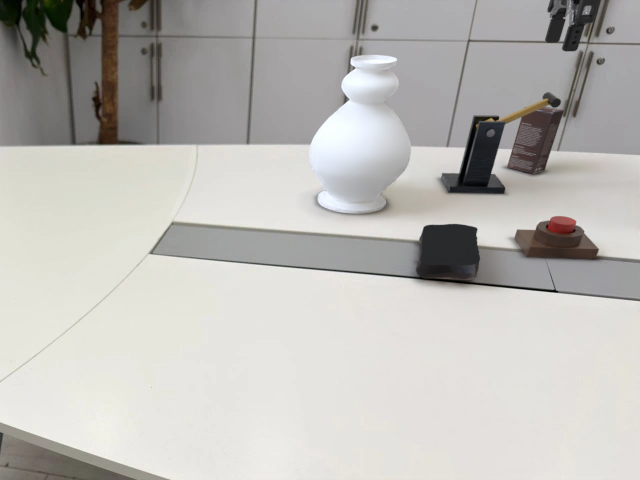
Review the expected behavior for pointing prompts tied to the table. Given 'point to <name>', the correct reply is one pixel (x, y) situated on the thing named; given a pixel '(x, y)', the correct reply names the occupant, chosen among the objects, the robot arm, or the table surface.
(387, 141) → the decorative vase
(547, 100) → the switch lever
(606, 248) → the table surface
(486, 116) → the switch bracket
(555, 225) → the red button
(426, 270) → the black sponge
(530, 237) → the button block
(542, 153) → the box
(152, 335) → the table surface
